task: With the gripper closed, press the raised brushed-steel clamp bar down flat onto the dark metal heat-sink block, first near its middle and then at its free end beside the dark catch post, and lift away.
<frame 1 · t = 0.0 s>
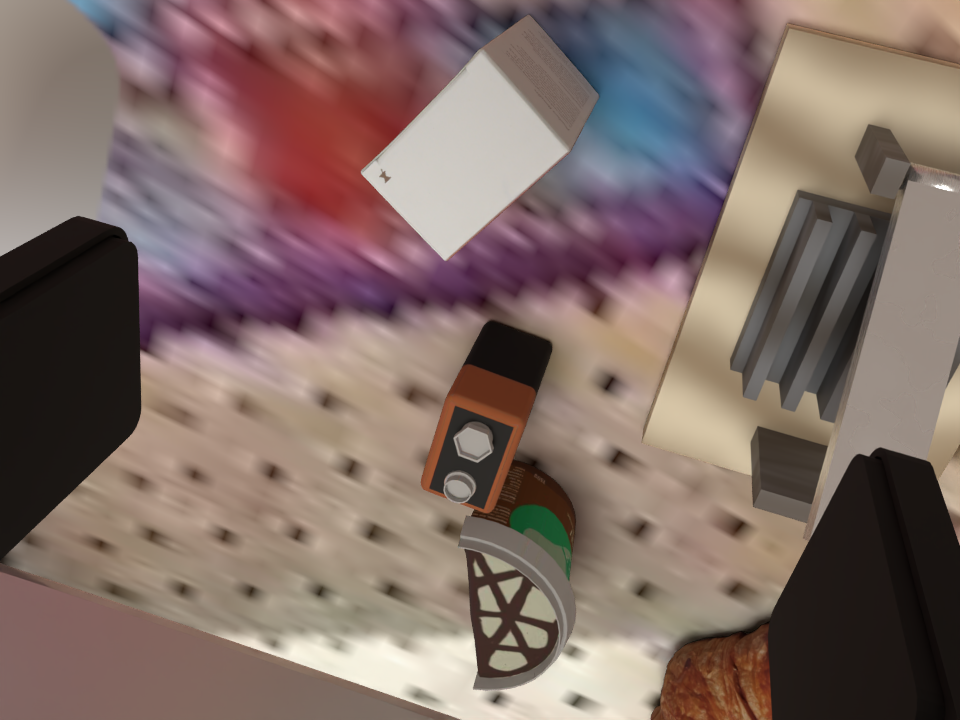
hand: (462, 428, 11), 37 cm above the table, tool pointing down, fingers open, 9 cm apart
battery: (506, 372, 54), on the table
food container: (548, 516, 59), on the table
pastry: (752, 681, 62), on the table
heatsink board: (854, 293, 47), on the table
small box: (512, 105, 46), on the table
clamp bar: (901, 360, 37), point 10 cm above the table, hinge at 35.0°
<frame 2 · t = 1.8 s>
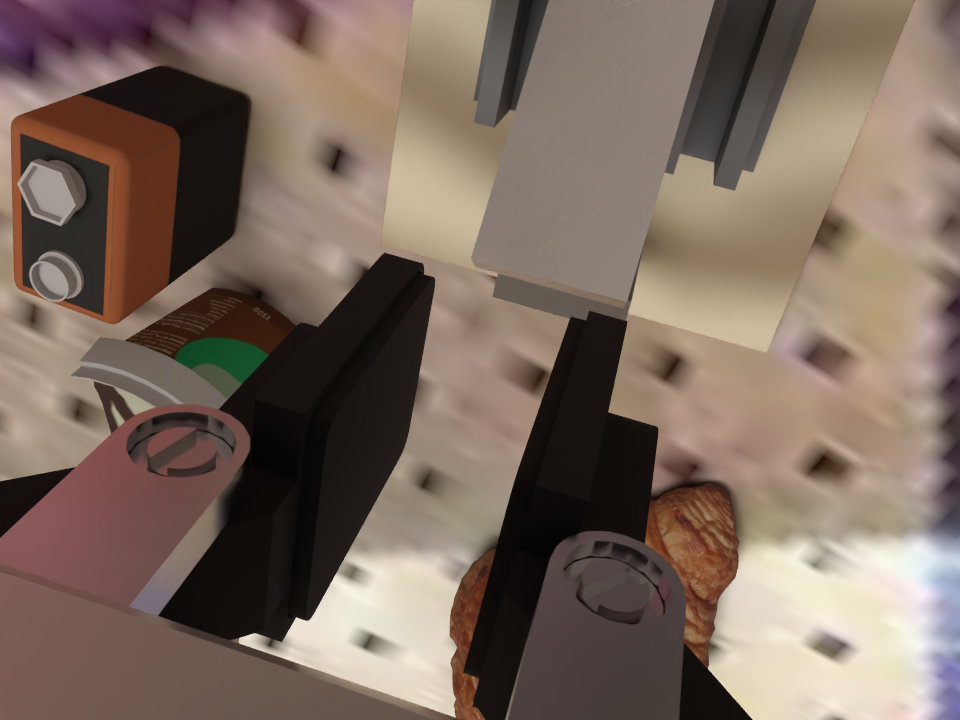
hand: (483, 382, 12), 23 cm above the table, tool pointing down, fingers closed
battery: (200, 153, 38), on the table
food container: (291, 376, 43), on the table
pastry: (586, 603, 46), on the table
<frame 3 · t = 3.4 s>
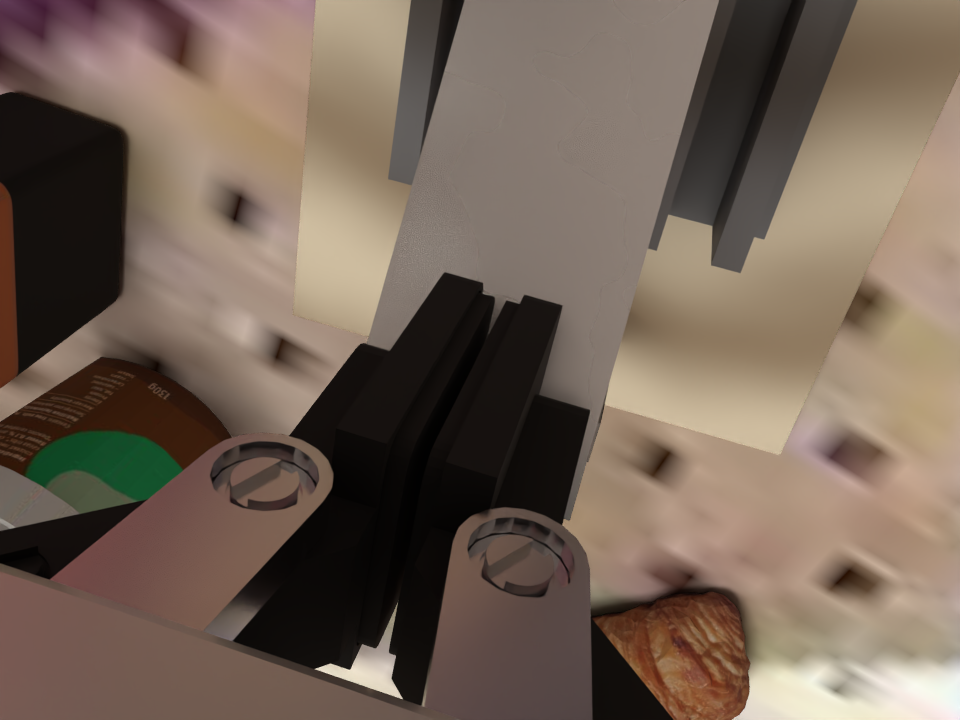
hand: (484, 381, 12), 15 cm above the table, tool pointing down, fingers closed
battery: (73, 198, 31), on the table
food container: (203, 459, 35), on the table
pastry: (566, 713, 38), on the table
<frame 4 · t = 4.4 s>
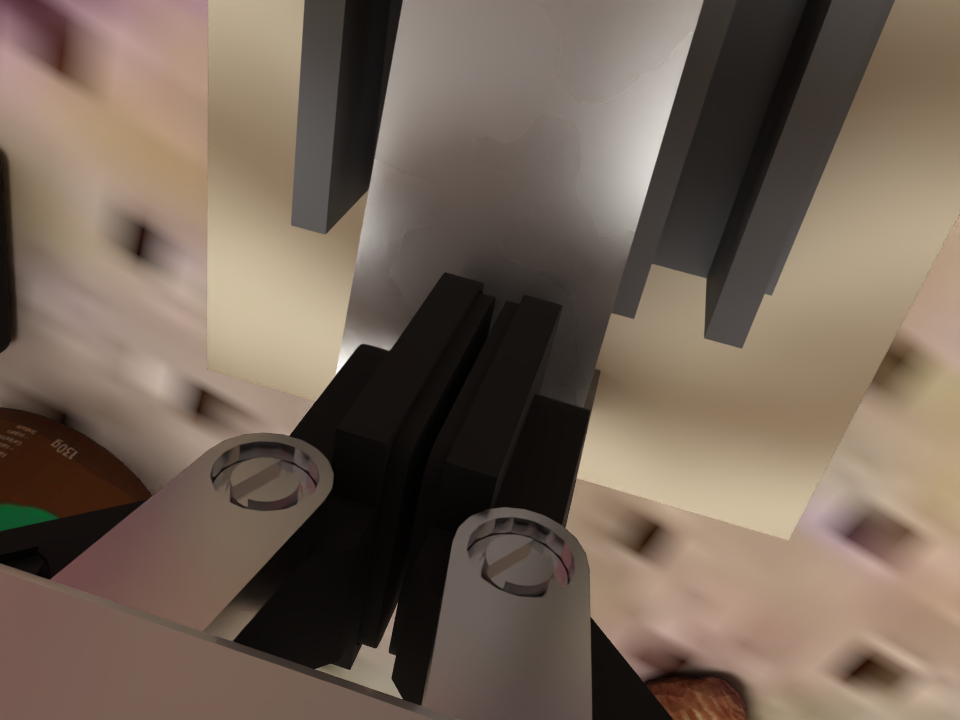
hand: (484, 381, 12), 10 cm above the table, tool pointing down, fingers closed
food container: (125, 520, 31), on the table
clamp bar: (553, 0, 11), point 8 cm above the table, hinge at 12.7°, touching gripper
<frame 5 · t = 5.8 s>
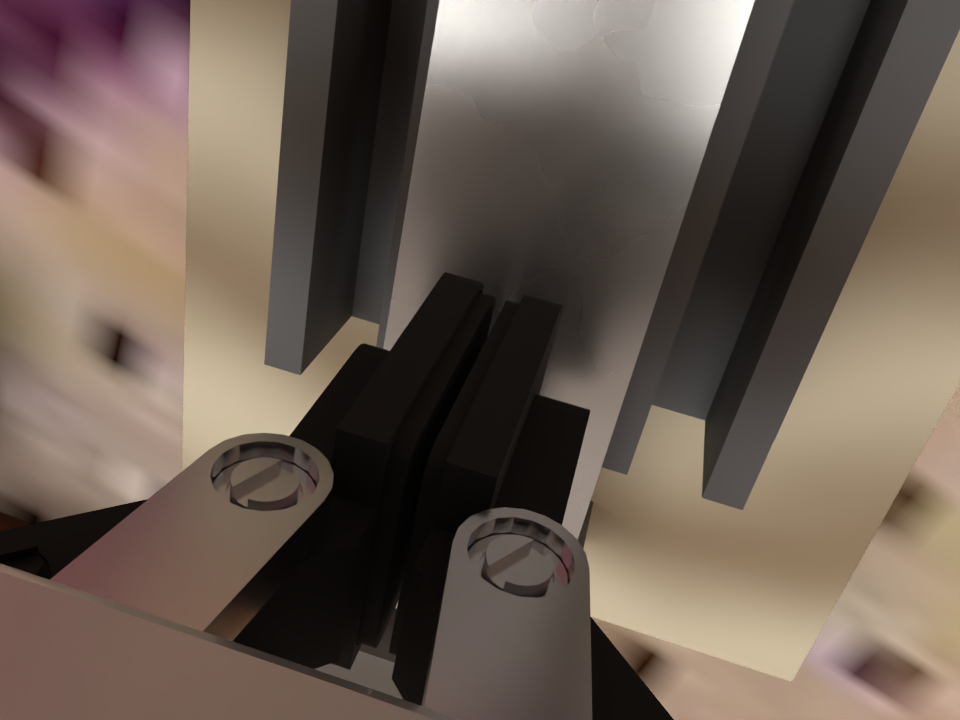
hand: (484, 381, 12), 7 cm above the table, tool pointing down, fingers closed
heatsink board: (605, 87, 17), on the table
clamp bar: (556, 158, 12), point 6 cm above the table, hinge at 1.4°
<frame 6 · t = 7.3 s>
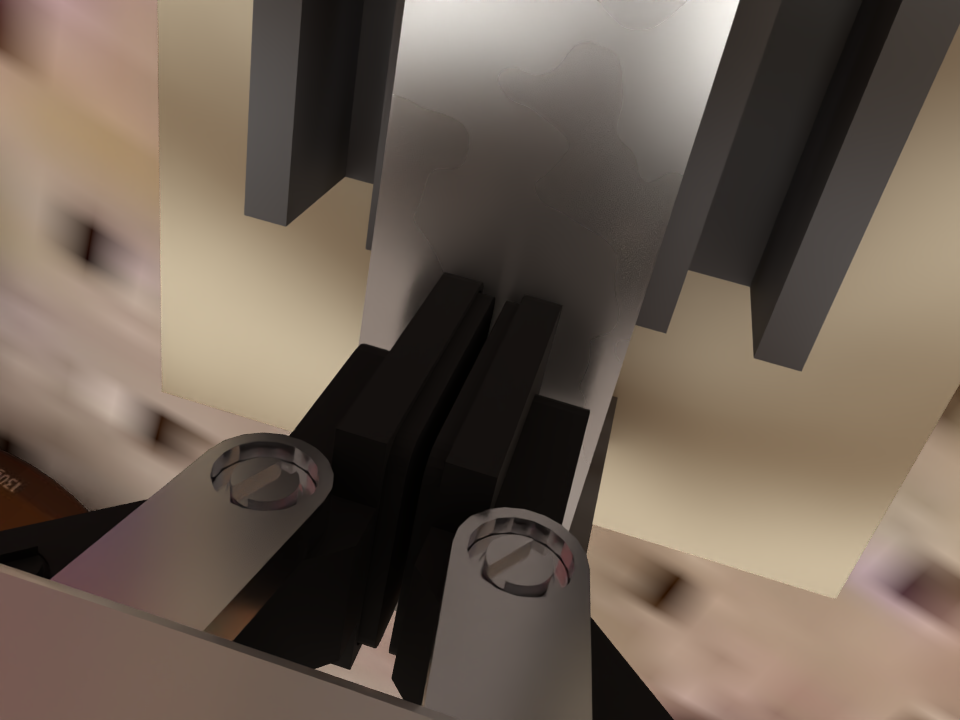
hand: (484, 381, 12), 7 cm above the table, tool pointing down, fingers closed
food container: (77, 560, 28), on the table
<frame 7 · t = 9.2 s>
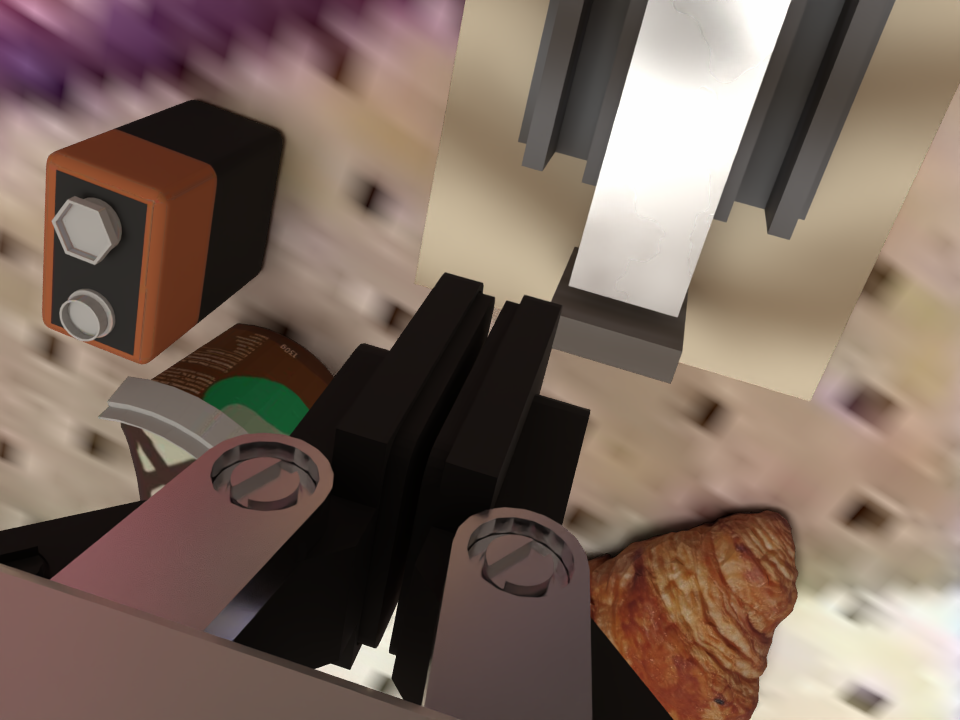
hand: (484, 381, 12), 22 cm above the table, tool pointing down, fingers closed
battery: (230, 187, 37), on the table
food container: (315, 414, 42), on the table
pastry: (626, 631, 44), on the table
heatsink board: (708, 18, 30), on the table
clamp bar: (707, 32, 24), point 6 cm above the table, hinge at -0.2°
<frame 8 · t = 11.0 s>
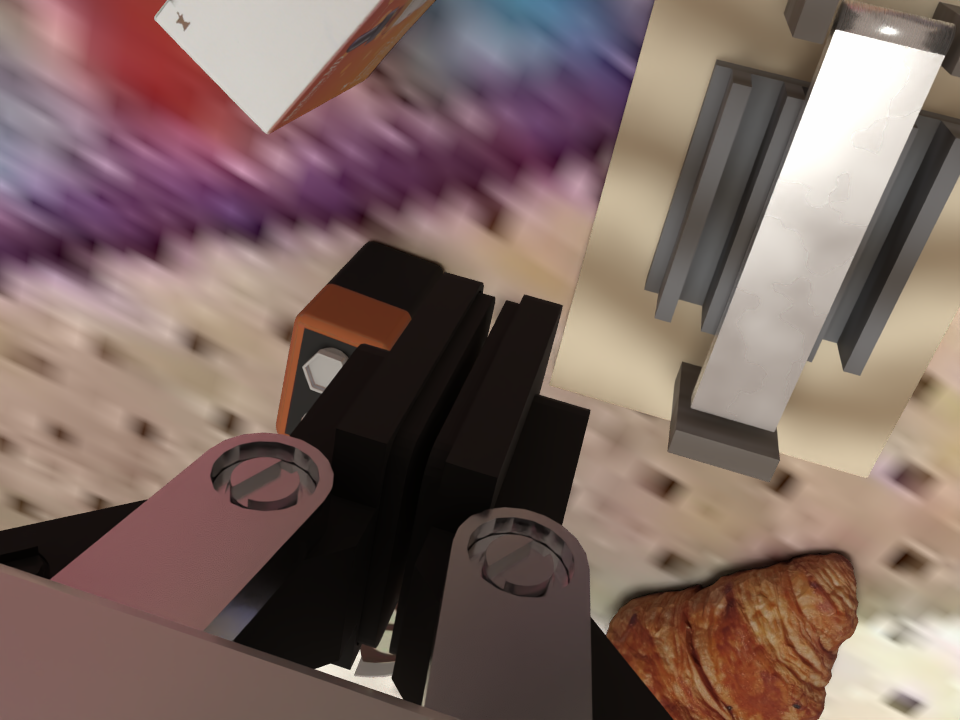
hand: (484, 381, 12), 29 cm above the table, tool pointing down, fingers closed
battery: (394, 305, 46), on the table
food container: (453, 477, 51), on the table
pastry: (709, 644, 53), on the table
heatsink board: (792, 195, 39), on the table
clamp bar: (804, 238, 33), point 6 cm above the table, hinge at -0.2°
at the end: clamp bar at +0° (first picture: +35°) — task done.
